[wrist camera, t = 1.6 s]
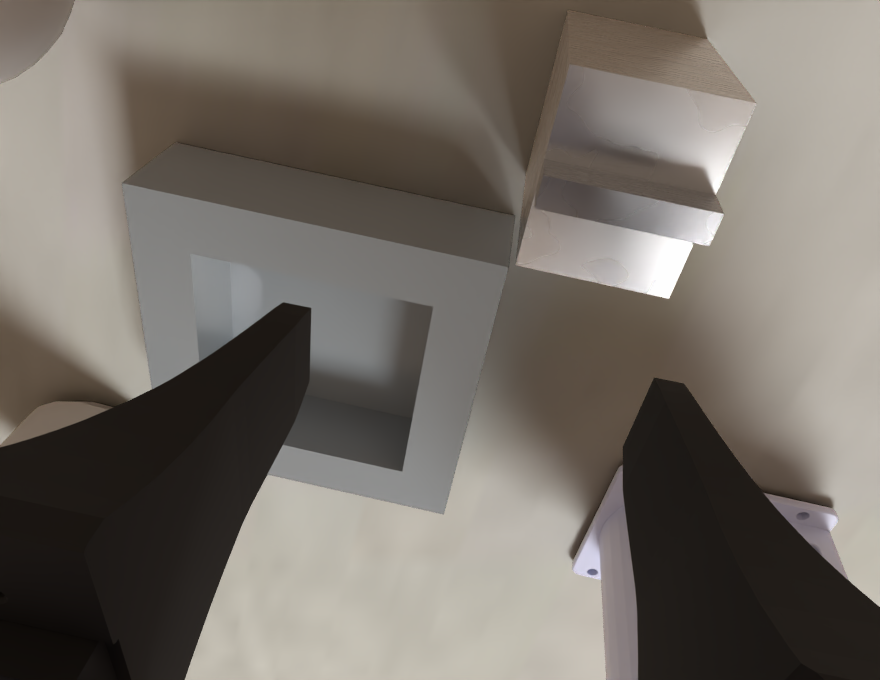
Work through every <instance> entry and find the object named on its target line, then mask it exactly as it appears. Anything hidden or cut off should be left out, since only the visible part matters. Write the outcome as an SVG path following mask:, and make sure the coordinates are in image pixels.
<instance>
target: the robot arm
mask: <svg viewBox="0 0 880 680" xmlns="http://www.w3.org/2000/svg"><path fill="white" fill-rule="evenodd" d="M310 344H311V308H309V307H304V306H300V305H295V304H290V303H285V302H283V303H281V304H280V305H278V306H277V307H275V308H274V309H272V310H271V311H270V312H268V313H267V314H266V315H264V316H263V317H262V318H260V319H259V320H258V321H256V322H255V323H254V324H252V325H251V326H250V327H248V328H247V329H246V330H244V331H243V332H242V333H240V334H239V335H238V336H236V337H235V338H233V339H232V340H231V341H229V342H228V343H226V344H225V345H223V346H222V347H221V348H219V349H218V350H216V351H215V352H213V353H212V354H210V355H209V356H207V357H206V358H204V359H203V360H201V361H200V362H198V363H196V364H195V365H193V366H192V367H190V368H188V369H187V370H185V371H184V372H182V373H180V374H179V375H177V376H175V377H174V378H172V379H170V380H168V381H167V382H165V383H163V384H161V385H159V386H158V387H156V388H154V389H152V390H150V391H148V392H146V393H144V394H142V395H140V396H138V397H136V398H134V399H132V400H130V401H127V402H125V403H123V404H120V405H118V406H116V407H113V408H111V409H109V410H106V411H104V412H102V413H99V414H97V415H95V416H92V417H90V418H87V419H85V420H83V421H80V422H77V423H75V424H72V425H69V426H66V427H63V428H61V429H58V430H55V431H52V432H49V433H46V434H43V435H40V436H37V437H34V438H31V439H28V440H24V441H21V442H18V443H14V444H11V445H7V446H3V447H0V680H185V677H186V674H187V671H188V668H189V665H190V662H191V659H192V656H193V653H194V651H195V648H196V645H197V642H198V639H199V637H200V634H201V631H202V628H203V625H204V623H205V620H206V617H207V614H208V611H209V609H210V606H211V603H212V601H213V598H214V595H215V593H216V590H217V587H218V585H219V582H220V579H221V577H222V574H223V572H224V569H225V566H226V564H227V561H228V559H229V556H230V554H231V551H232V549H233V546H234V544H235V541H236V538H237V536H238V533H239V531H240V528H241V526H242V523H243V521H244V519H245V517H246V515H247V513H248V511H249V509H250V506H251V504H252V503H253V501H254V499H255V497H256V495H257V493H258V491H259V489H260V487H261V485H262V484H263V482H264V480H265V478H266V476H267V474H268V472H269V470H270V468H271V467H272V465H273V463H274V461H275V459H276V457H277V455H278V453H279V451H280V449H281V448H282V446H283V444H284V442H285V440H286V438H287V436H288V434H289V432H290V430H291V428H292V426H293V424H294V422H295V420H296V417H297V415H298V412H299V409H300V407H301V404H302V401H303V398H304V396H305V393H306V390H307V387H308V384H309V382H310ZM838 520H839V519H838V516H837V513H836V511H835V510H834V509H832V508H829V507H825V506H820V505H816V504H811V503H807V502H802V501H798V500H793V499H789V498H784V497H780V496H776V495H771V494H767V493H763V492H762V491H761V489H760V488H759V487H758V486H757V485H756V483H755V482H754V481H753V480H752V478H751V477H750V476H749V475H748V473H747V472H746V471H745V469H744V468H743V467H742V465H741V464H740V463H739V462H738V460H737V459H736V457H735V456H734V455H733V453H732V452H731V451H730V449H729V448H728V447H727V445H726V444H725V442H724V441H723V440H722V438H721V437H720V435H719V434H718V432H717V431H716V430H715V428H714V427H713V425H712V424H711V422H710V421H709V419H708V418H707V416H706V415H705V413H704V412H703V411H702V409H701V408H700V406H699V405H698V403H697V402H696V400H695V399H694V397H693V396H692V394H691V393H690V392H689V390H688V389H687V387H686V386H685V385H684V384H683V383H678V382H673V381H668V380H663V379H658V378H654V379H653V382H652V384H651V386H650V388H649V390H648V393H647V395H646V397H645V399H644V401H643V404H642V406H641V408H640V410H639V413H638V415H637V417H636V419H635V421H634V424H633V426H632V428H631V430H630V432H629V435H628V437H627V439H626V441H625V444H624V446H623V465H621V466H620V467H619V468H618V470H617V472H616V474H615V476H614V478H613V480H612V482H611V484H610V486H609V488H608V490H607V492H606V494H605V496H604V498H603V500H602V502H601V504H600V507H599V509H598V511H597V513H596V515H595V517H594V519H593V521H592V523H591V525H590V527H589V529H588V531H587V533H586V535H585V537H584V539H583V541H582V543H581V545H580V547H579V550H578V552H577V554H576V556H575V558H574V560H573V562H572V569H573V571H574V572H575V573H576V574H579V575H582V576H586V577H591V578H595V579H600V580H601V590H602V609H603V628H604V647H605V666H606V680H880V607H879V606H878V605H876V604H875V603H874V602H873V601H872V600H870V599H869V598H868V597H867V596H866V595H865V594H863V593H862V592H861V591H860V590H859V589H858V588H856V587H855V586H854V585H853V584H852V583H851V582H850V581H849V580H848V577H847V575H846V572H845V570H844V567H843V565H842V562H841V560H840V557H839V554H838V552H837V549H836V547H835V544H834V542H833V539H832V537H831V534H830V531H831V530H832V528H833V527H834V526H835V525H836V524H837V522H838Z"/></svg>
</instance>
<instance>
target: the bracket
mask: <svg viewBox="0 0 880 680" xmlns="http://www.w3.org/2000/svg"><path fill="white" fill-rule="evenodd" d="M756 105H757V103H756V102H755V100H754V99H753V98H752V96H751V95H750V94H749V93H748V91H747V90H746V89H745V87H744V86H743V85H742V83H741V82H740V81H739V80H738V78H737V77H736V76H735V74H734V73H733V72H732V70H731V69H730V68H729V66H728V65H727V64H726V63H725V61H724V60H723V59H722V57H721V56H720V55H719V53H718V52H717V51H716V50H715V48H714V47H713V46H712V44H711V43H710V42H709V40H708V39H706V38H701V37H696V36H691V35H686V34H682V33H677V32H672V31H667V30H663V29H658V28H653V27H648V26H643V25H639V24H634V23H629V22H624V21H620V20H615V19H610V18H605V17H600V16H596V15H591V14H586V13H581V12H577V11H572V10H568V11H567V15H566V19H565V23H564V27H563V30H562V34H561V38H560V42H559V46H558V50H557V54H556V58H555V62H554V66H553V70H552V74H551V77H550V81H549V85H548V89H547V93H546V97H545V101H544V105H543V109H542V113H541V117H540V121H539V124H538V128H537V132H536V136H535V140H534V144H533V148H532V152H531V156H530V160H529V164H528V167H527V171H526V177H525V185H524V194H523V203H522V212H521V221H520V230H519V239H518V248H517V257H516V265H517V266H521V267H526V268H530V269H535V270H540V271H544V272H549V273H553V274H558V275H563V276H567V277H572V278H576V279H581V280H586V281H590V282H595V283H599V284H604V285H609V286H613V287H618V288H622V289H627V290H631V291H636V292H641V293H645V294H650V295H654V296H659V297H664V298H668V299H669V297H670V295H671V293H672V290H673V288H674V286H675V284H676V282H677V279H678V277H679V275H680V273H681V271H682V268H683V266H684V264H685V262H686V260H687V257H688V255H689V253H690V251H691V248H692V246H693V244H694V243H697V244H701V245H706V246H709V245H710V243H711V241H712V239H713V237H714V235H715V233H716V231H717V228H718V226H719V224H720V222H721V220H722V218H723V216H724V213H723V210H722V208H721V206H720V204H719V201H718V199H717V197H716V193H717V191H718V189H719V187H720V184H721V182H722V180H723V178H724V176H725V173H726V171H727V169H728V167H729V164H730V162H731V160H732V158H733V156H734V153H735V151H736V149H737V147H738V145H739V142H740V140H741V138H742V136H743V134H744V131H745V129H746V127H747V125H748V122H749V120H750V118H751V116H752V114H753V111H754V109H755V107H756Z"/></svg>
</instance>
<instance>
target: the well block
mask: <svg viewBox="0 0 880 680" xmlns="http://www.w3.org/2000/svg"><path fill="white" fill-rule="evenodd" d="M122 188H123V195H124V201H125V208H126V215H127V222H128V229H129V236H130V243H131V249H132V256H133V263H134V270H135V277H136V284H137V290H138V297H139V304H140V311H141V318H142V325H143V332H144V338H145V345H146V352H147V359H148V366H149V373H150V379H151V386H152V389H154V388H156V387H158V386H159V385H161V384H163V383H165V382H167V381H168V380H170V379H172V378H174V377H175V376H177V375H179V374H180V373H182V372H184V371H185V370H187V369H188V368H190V367H192V366H193V365H195V364H196V363H198V362H200V361H201V360H203V359H204V358H206V357H207V356H209V355H210V354H212V353H213V352H215V351H216V350H218V349H219V348H221V347H222V346H223V345H225V344H226V343H228V342H229V341H231V340H232V339H233V338H235V337H236V336H238V335H239V334H240V333H242V332H243V331H244V330H246V329H247V328H248V327H250V326H251V325H252V324H254V323H255V322H256V321H258V320H259V319H260V318H262V317H263V316H264V315H266V314H267V313H268V312H270V311H271V310H272V309H274V308H275V307H277V306H278V305H280V304H281V303H283V302H285V303H290V304H295V305H300V306H304V307H309V308H311V344H310V382H309V384H308V387H307V390H306V393H305V396H304V398H303V401H302V404H301V407H300V409H299V412H298V415H297V417H296V420H295V422H294V424H293V426H292V428H291V430H290V432H289V434H288V436H287V438H286V440H285V442H284V444H283V446H282V448H281V449H280V451H279V453H278V455H277V457H276V459H275V461H274V463H273V465H272V467H271V468H270V470H269V472H268V474H267V475H272V476H276V477H280V478H285V479H289V480H294V481H298V482H303V483H307V484H311V485H316V486H320V487H325V488H329V489H333V490H338V491H342V492H347V493H351V494H356V495H360V496H364V497H369V498H373V499H378V500H382V501H386V502H391V503H395V504H400V505H404V506H408V507H413V508H417V509H422V510H426V511H431V512H435V513H439V514H444V512H445V508H446V504H447V500H448V497H449V493H450V489H451V485H452V481H453V478H454V474H455V470H456V466H457V462H458V458H459V455H460V451H461V447H462V443H463V439H464V436H465V432H466V428H467V424H468V420H469V416H470V413H471V409H472V405H473V401H474V397H475V394H476V390H477V386H478V382H479V378H480V375H481V371H482V367H483V363H484V359H485V355H486V352H487V348H488V344H489V340H490V336H491V333H492V329H493V325H494V321H495V317H496V313H497V310H498V306H499V302H500V298H501V294H502V291H503V287H504V283H505V279H506V275H507V272H508V268H509V260H510V253H511V245H512V237H513V230H514V222H515V216H514V215H509V214H505V213H500V212H495V211H491V210H486V209H481V208H477V207H472V206H468V205H463V204H458V203H454V202H449V201H444V200H440V199H435V198H430V197H426V196H421V195H417V194H412V193H407V192H403V191H398V190H393V189H389V188H384V187H380V186H375V185H370V184H366V183H361V182H356V181H352V180H347V179H342V178H338V177H333V176H329V175H324V174H319V173H315V172H310V171H305V170H301V169H296V168H292V167H287V166H282V165H278V164H273V163H268V162H264V161H259V160H255V159H250V158H245V157H241V156H236V155H231V154H227V153H222V152H217V151H213V150H208V149H204V148H199V147H194V146H190V145H185V144H180V143H176V142H175V143H174V144H173V145H171V146H170V147H169V148H167V149H166V150H165V151H164V152H162V153H161V154H160V155H158V156H157V157H156V158H154V159H153V160H152V161H150V162H149V163H148V164H146V165H145V166H144V167H142V168H141V169H140V170H138V171H137V172H136V173H134V174H133V175H132V176H131V177H129V178H128V179H127V180H125V181H124V182H123V183H122Z"/></svg>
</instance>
